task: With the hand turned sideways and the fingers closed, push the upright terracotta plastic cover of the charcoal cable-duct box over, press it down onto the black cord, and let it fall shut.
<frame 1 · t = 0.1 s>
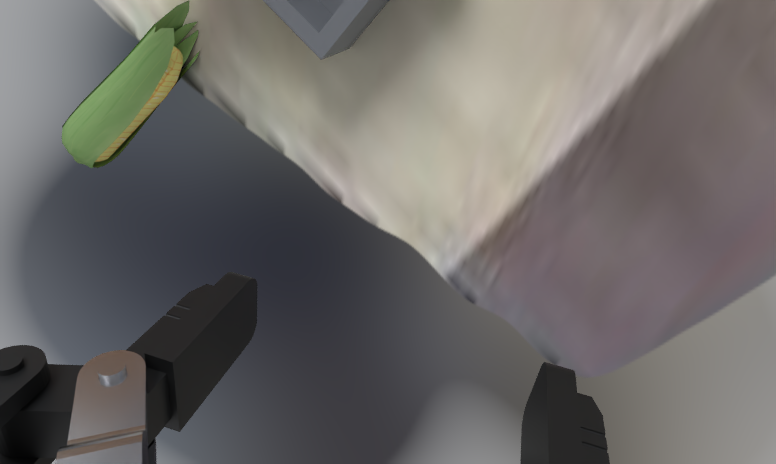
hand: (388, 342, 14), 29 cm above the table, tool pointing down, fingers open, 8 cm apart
edible corn: (151, 89, 46), on the table
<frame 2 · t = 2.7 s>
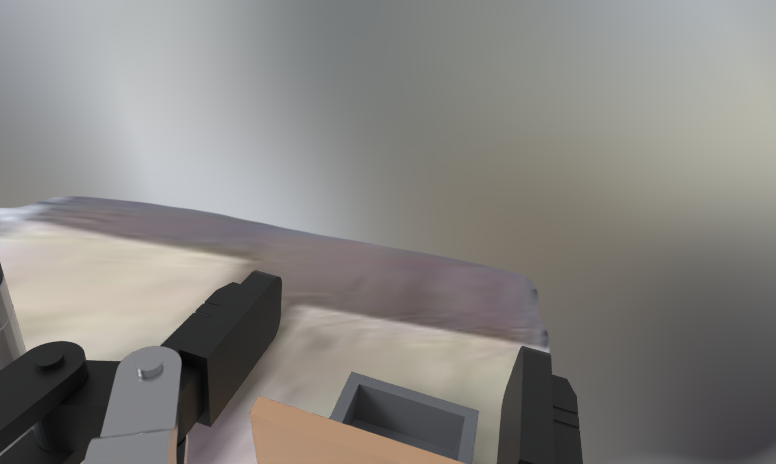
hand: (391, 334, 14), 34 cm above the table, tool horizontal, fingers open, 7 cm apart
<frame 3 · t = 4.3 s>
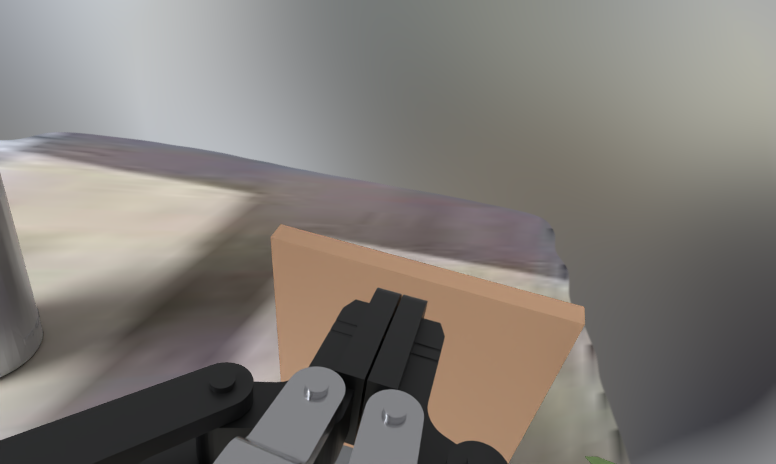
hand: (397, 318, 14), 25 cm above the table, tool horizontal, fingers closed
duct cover: (400, 378, 27), point 14 cm above the table, hinge at 100.0°
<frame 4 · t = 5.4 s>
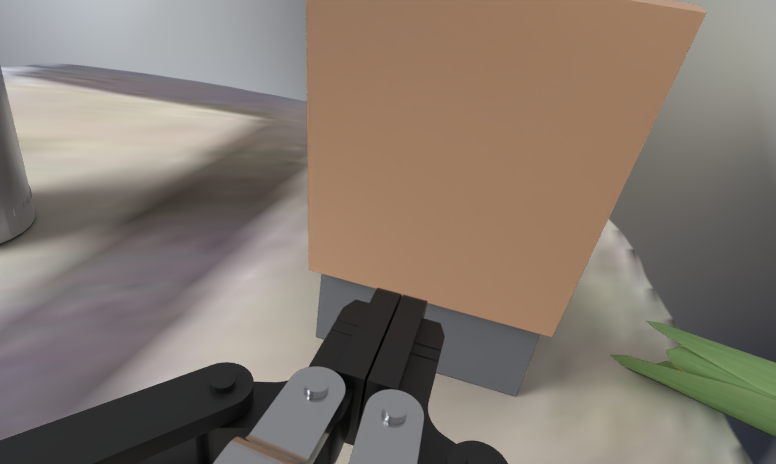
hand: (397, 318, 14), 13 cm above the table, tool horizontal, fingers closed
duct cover: (453, 172, 23), point 14 cm above the table, hinge at 100.0°
edible corn: (767, 429, 31), on the table
duct box: (435, 294, 38), on the table
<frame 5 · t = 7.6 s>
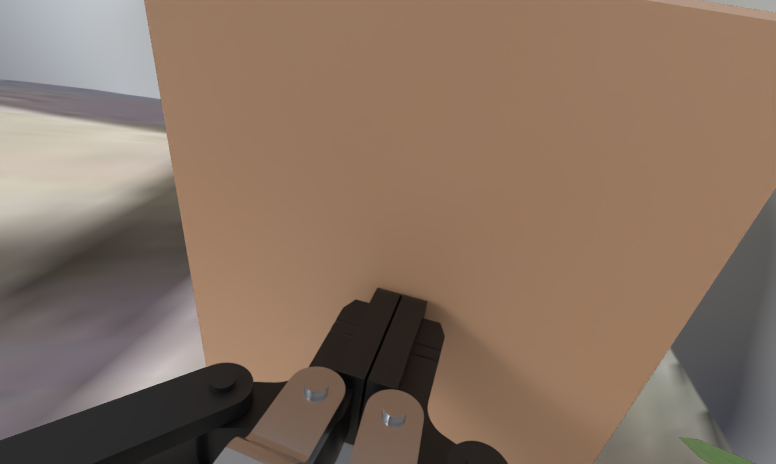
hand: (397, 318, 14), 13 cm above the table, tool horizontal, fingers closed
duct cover: (408, 282, 14), point 14 cm above the table, hinge at 96.9°, touching gripper
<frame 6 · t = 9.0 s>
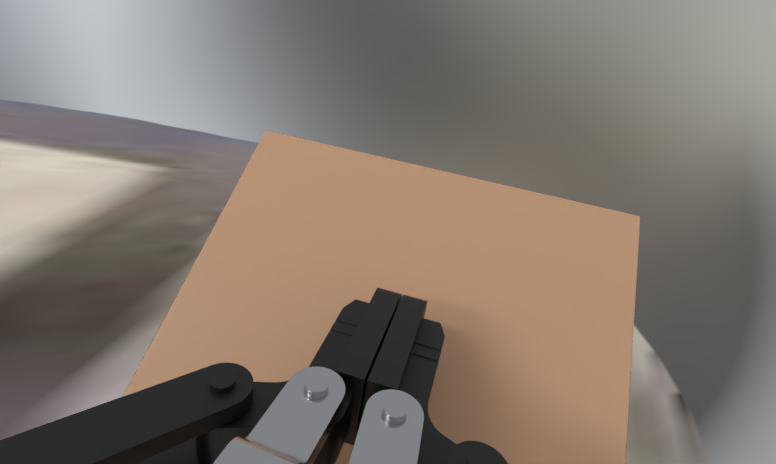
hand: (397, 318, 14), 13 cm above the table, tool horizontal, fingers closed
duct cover: (374, 399, 15), point 11 cm above the table, hinge at 32.0°, touching gripper
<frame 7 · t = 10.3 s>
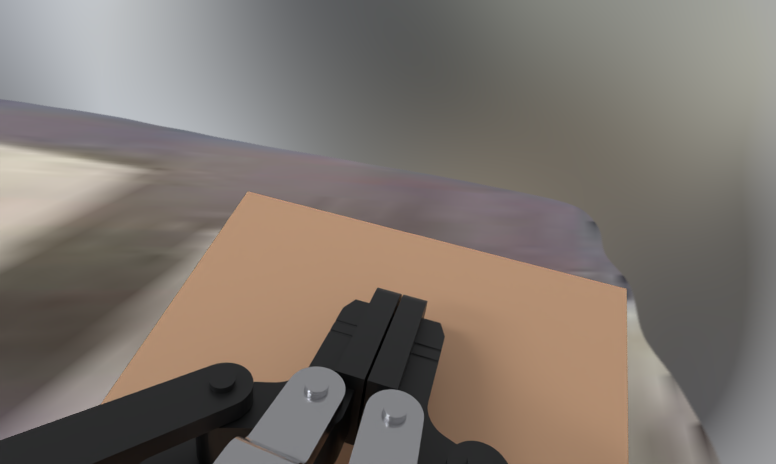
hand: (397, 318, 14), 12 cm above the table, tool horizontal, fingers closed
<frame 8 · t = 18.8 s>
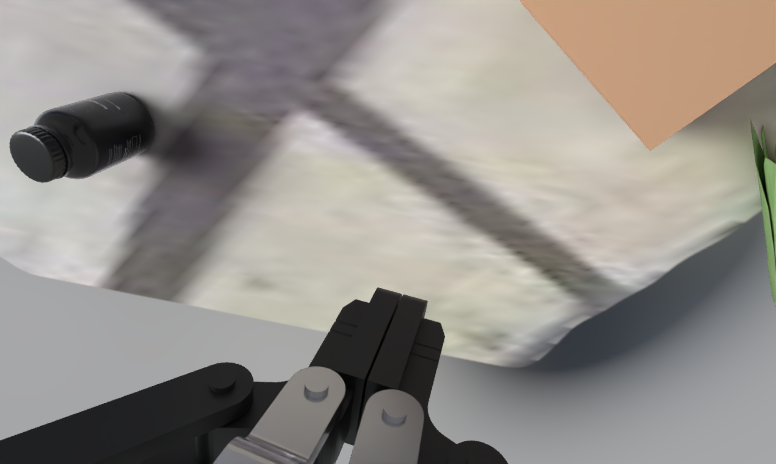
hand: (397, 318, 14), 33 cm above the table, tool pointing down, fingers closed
supplement bottle: (129, 122, 54), on the table
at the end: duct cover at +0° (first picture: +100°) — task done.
